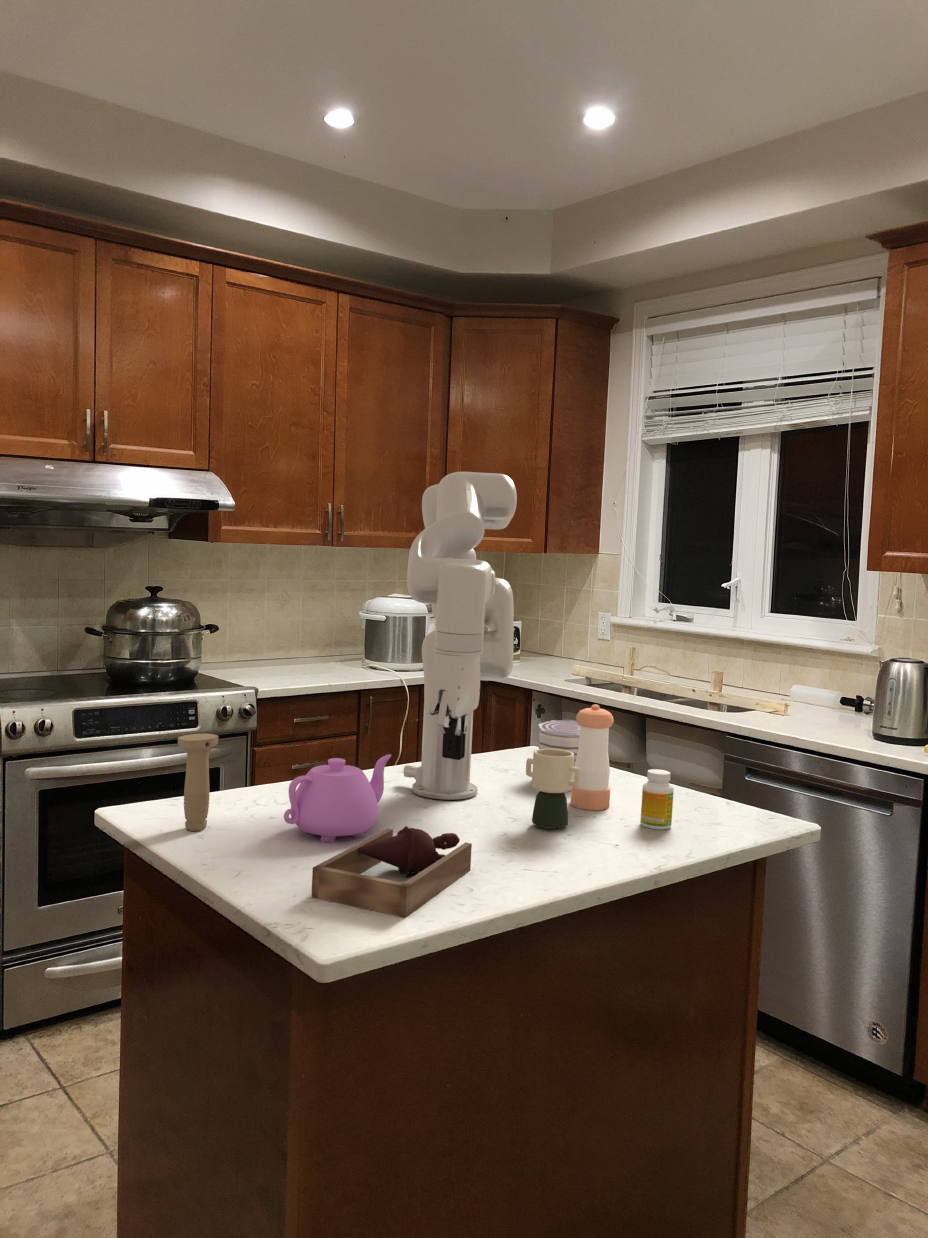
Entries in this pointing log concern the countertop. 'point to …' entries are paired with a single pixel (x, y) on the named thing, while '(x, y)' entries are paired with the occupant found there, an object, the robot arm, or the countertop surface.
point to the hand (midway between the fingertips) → (453, 757)
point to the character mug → (552, 785)
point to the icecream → (410, 849)
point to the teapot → (336, 799)
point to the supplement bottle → (657, 800)
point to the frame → (352, 888)
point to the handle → (197, 778)
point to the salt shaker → (593, 759)
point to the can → (560, 735)
